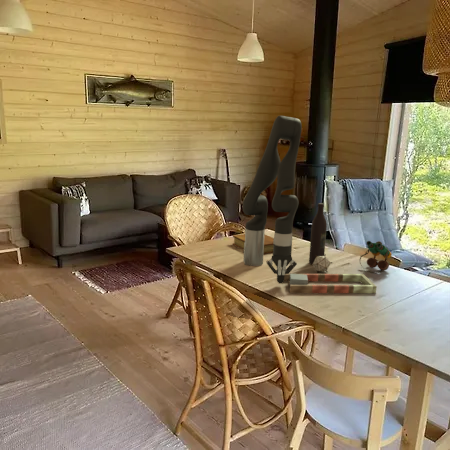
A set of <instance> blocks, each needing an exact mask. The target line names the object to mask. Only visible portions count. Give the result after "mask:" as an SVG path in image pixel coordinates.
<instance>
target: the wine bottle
mask: <svg viewBox="0 0 450 450" xmlns="http://www.w3.org/2000/svg"><path fill="white" fill-rule="evenodd" d="M324 208H325V204H324V203H323V202H318V203H317V211H316V214H315V215H314V217H313V220H312V223H311V229H310V232H311V233H310V243H309V244H310V245H309V258H308V263H309V264H310V265H311V264H313V262H314V260H315V258H316V255H317V256H324V255H325V251H326V250H325V249H326V238H327V225H328V224H327V220H326V217H325V214H324Z"/></svg>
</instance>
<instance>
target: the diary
mask: <svg viewBox="0 0 450 450" xmlns="http://www.w3.org/2000/svg"><path fill="white" fill-rule="evenodd" d="M232 238H234V240H233V243H232V245H233V246H236V247H238V249H242V250H243V251H244V243H245V233H241V234H232ZM273 240H274V237H272V236H269V235H267V234H264V254H263V255H266V254H273V244H274V242H273Z"/></svg>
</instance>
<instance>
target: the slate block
mask: <svg viewBox="0 0 450 450" xmlns="http://www.w3.org/2000/svg"><path fill="white" fill-rule="evenodd" d="M289 274H290V281H289V286H290V285H309V284H308V283H309V281H308V278H307V275H306V274H307V273H289Z"/></svg>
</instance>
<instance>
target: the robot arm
mask: <svg viewBox="0 0 450 450" xmlns="http://www.w3.org/2000/svg"><path fill="white" fill-rule="evenodd" d="M302 128H303V126H302V122H301V120H300V119H299V118H296V117H291V116H285V115H277V116H276V118H275V119H274V121H273V124H272V128H271V130H270V134H269V137H268V140H267V144H266V147H265V150H264V153H263V155H262V157H261V160H260V162H259V164H258V167H257V169H256V172H255V175H254V177H253V179H252V182H251V185H250V187H249V189H248V191H247V193H246V194H245V196H244V199H243V201H242V212H243V213H244V214H245V215H247V216H253V217H252V218H251V219H250V220H248V221H246V223H245V233H244V234H245V243H244V250H243V263H244V265H245V266H250V267H251V266H252V267H254V266H255V267H257V266H261V265H263V264H264V255H265V254H264V234H265V233H266V232H265V231H266V225H267V219H268V218H267V217H268V209H269V205H268V204H269V202H268V198H267V197H266V196H265V195H262V193H263V192H264V191H265V190H267V188H269V187H270V186H272V184H273V183H274V182H275V181H276V179H277V181H276V189H275V192H274V195H273V198H272V201H271V208H272V210H273V211H274V212H277V213H287V215H285V216H280V217H277V218H276V219H275V221H274V222H275V223H274V235H273V238H274V240H273V242H274V244H273V253H272V255H271V259H269V260H266V264H267V266H268V267H269V269H270V270H271V271H272V273H273V274H274V275H276V282H277V283H278V284H284V282H285V281H284V275H285V274H291V271H292V270H293V269H294V268H295V267H296V266H297V262H296V260H294V259H293V256H292V250H293V249H292V248H293V224H294V219H295V215H296V212H297V210H298V208H299V204H300V203H299V199H298V196H296V195H294V194H282V193H283V192H285V191H289V190H293V189H294V188H295V185H296V184H295V183H296V166H297V165H296V164H297V158H298V153H299V147H300V142H301V138H302V130H303V129H302ZM280 140H286V141H289V148H288V150H287V152H286V154H285V155H284V157H283V158H282V159H281V158H280V155H279V151H278V144H279V141H280ZM265 235H266V234H265ZM273 265H275V266H276V268H275V267H274V266H273Z"/></svg>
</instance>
